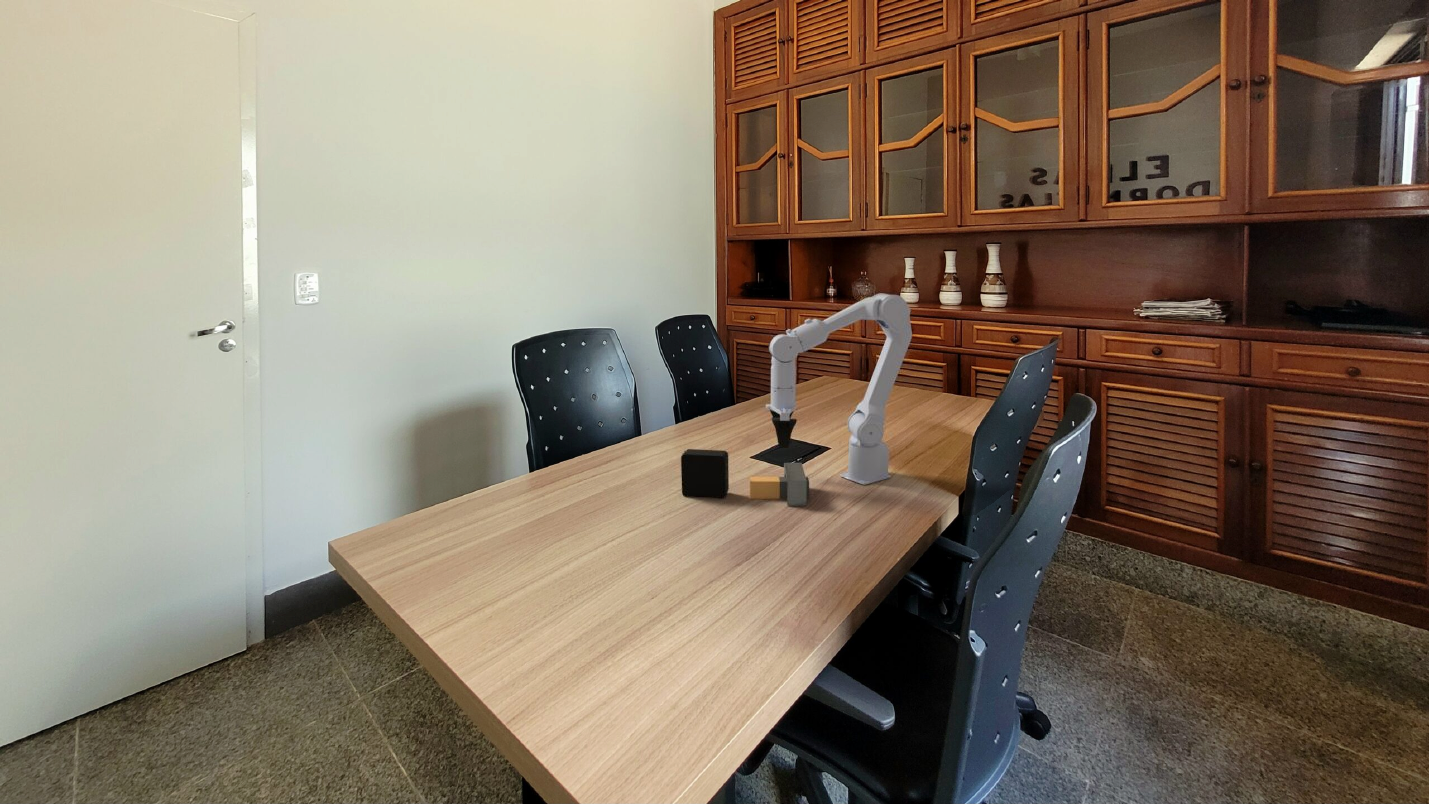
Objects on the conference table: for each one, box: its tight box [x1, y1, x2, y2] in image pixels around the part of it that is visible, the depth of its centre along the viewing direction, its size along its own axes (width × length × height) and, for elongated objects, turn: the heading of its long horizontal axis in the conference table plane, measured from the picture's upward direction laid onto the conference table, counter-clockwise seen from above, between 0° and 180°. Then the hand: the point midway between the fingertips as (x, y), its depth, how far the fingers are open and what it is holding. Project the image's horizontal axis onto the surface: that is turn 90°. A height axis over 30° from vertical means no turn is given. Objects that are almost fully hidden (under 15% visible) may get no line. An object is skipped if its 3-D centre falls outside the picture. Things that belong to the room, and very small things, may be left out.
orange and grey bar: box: [749, 476, 810, 500], centre depth 136 cm, size 13×3×4 cm, turn 87°
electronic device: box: [680, 448, 730, 500], centre depth 137 cm, size 4×10×10 cm, turn 78°
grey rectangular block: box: [783, 462, 807, 507], centre depth 136 cm, size 4×12×6 cm, turn 177°
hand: (782, 442), depth 144 cm, fingers open, 7 cm apart
